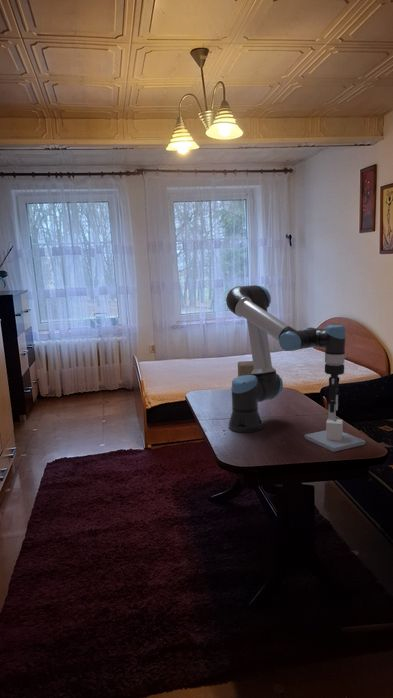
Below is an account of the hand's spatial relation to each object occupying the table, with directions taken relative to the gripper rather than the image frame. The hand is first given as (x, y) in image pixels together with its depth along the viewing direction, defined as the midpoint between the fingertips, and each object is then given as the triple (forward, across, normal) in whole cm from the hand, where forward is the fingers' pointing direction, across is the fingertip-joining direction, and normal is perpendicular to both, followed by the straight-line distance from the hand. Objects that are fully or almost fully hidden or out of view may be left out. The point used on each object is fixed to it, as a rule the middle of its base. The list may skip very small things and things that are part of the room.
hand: (333, 414), depth 187 cm
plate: (+11, 0, -1) cm, 11 cm away
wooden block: (+13, +63, +52) cm, 83 cm away
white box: (+10, 0, -1) cm, 10 cm away
